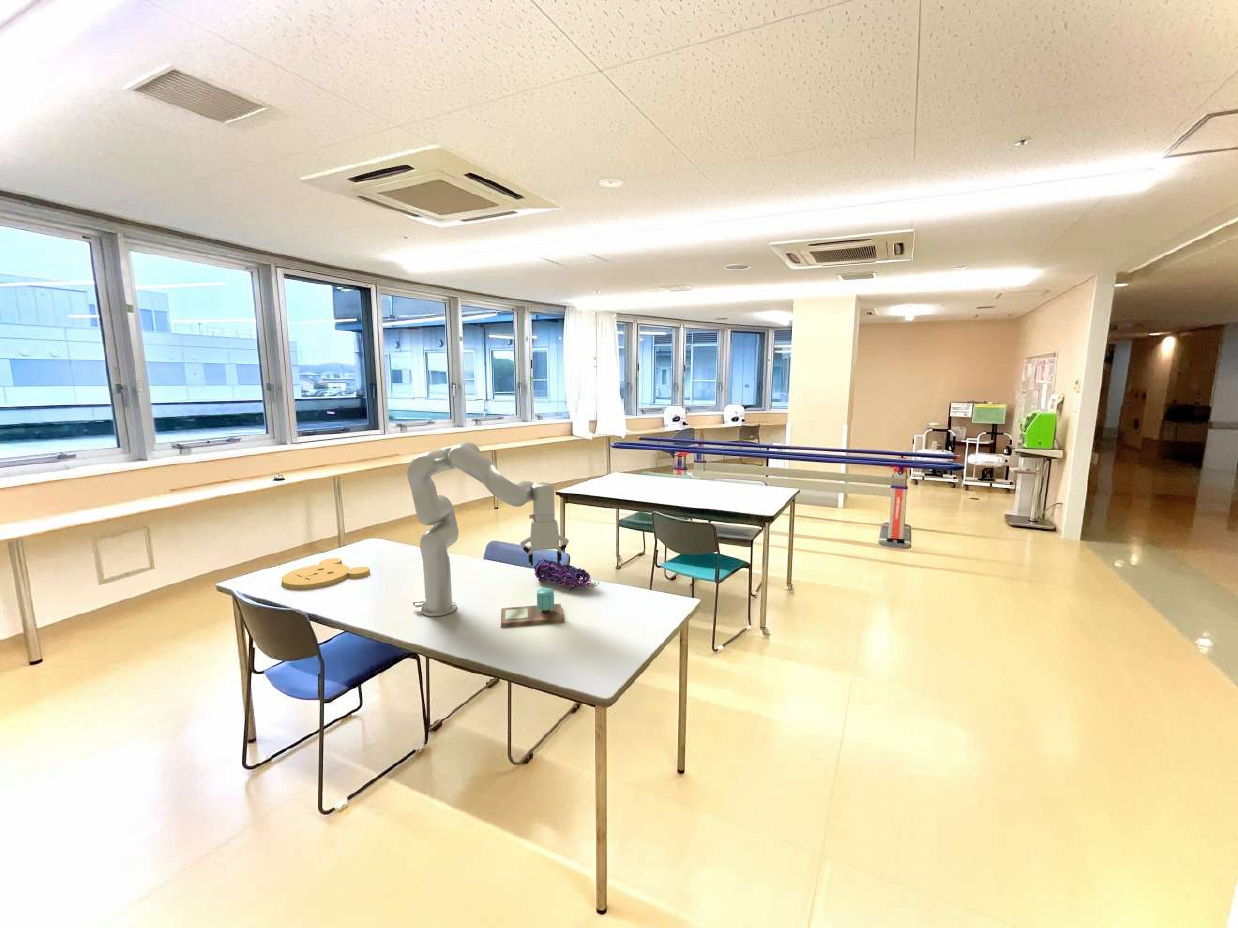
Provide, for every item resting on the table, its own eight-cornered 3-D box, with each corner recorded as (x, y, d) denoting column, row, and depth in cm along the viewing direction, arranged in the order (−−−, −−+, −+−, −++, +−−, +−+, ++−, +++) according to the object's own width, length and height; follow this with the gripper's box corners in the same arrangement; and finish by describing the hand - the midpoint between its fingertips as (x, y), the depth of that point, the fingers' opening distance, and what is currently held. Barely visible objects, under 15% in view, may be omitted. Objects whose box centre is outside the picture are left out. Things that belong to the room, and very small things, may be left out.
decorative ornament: (552, 558, 240) (605, 569, 222) (548, 581, 238) (602, 595, 221) (531, 557, 229) (586, 569, 212) (527, 582, 228) (582, 596, 210)
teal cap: (537, 610, 193) (537, 594, 192) (536, 604, 198) (536, 588, 198) (554, 609, 194) (554, 593, 193) (553, 602, 200) (552, 587, 199)
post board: (500, 627, 187) (500, 604, 186) (501, 611, 200) (500, 590, 198) (563, 622, 192) (563, 599, 190) (560, 607, 204) (560, 586, 203)
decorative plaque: (305, 596, 215) (374, 574, 240) (305, 590, 214) (373, 569, 239) (267, 581, 231) (335, 562, 256) (266, 575, 231) (334, 556, 256)
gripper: (519, 521, 186) (521, 568, 188) (569, 518, 189) (570, 565, 192) (519, 516, 193) (520, 561, 196) (567, 513, 197) (567, 558, 199)
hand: (545, 563), depth 194 cm, fingers open, 9 cm apart
